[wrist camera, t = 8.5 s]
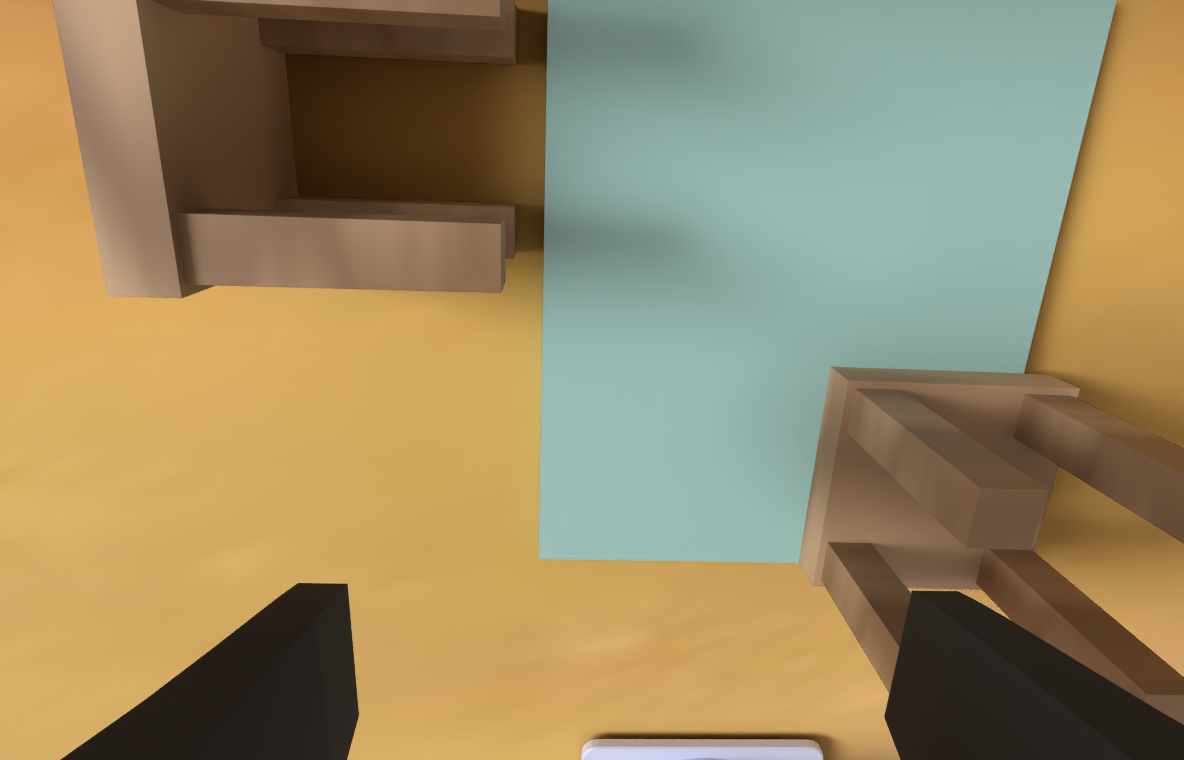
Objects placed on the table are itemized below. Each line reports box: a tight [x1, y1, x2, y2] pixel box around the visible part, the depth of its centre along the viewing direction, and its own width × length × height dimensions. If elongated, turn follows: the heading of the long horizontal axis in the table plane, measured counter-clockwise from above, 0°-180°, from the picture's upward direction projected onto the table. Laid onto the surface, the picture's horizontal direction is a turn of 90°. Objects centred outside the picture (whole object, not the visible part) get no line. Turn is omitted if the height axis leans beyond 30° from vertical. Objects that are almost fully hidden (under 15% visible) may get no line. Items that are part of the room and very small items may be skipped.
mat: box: [539, 0, 1117, 563], centre depth 18 cm, size 15×13×1 cm
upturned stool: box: [799, 367, 1184, 725], centre depth 16 cm, size 6×6×7 cm
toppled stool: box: [52, 0, 516, 298], centre depth 13 cm, size 6×6×7 cm
